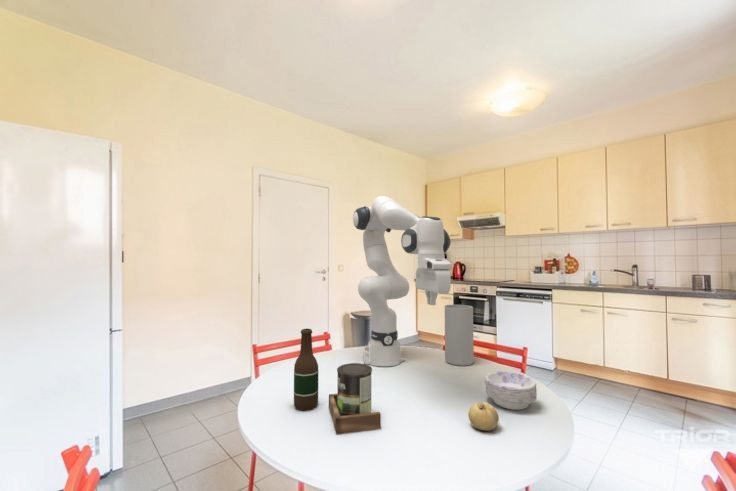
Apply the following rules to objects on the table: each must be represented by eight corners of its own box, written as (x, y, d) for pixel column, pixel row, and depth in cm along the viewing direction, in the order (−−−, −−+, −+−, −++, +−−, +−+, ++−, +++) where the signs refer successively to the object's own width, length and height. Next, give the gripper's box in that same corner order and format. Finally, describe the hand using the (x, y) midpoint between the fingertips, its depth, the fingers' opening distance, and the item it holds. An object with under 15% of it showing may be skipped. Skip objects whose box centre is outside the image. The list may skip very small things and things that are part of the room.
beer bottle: (309, 398, 109) (309, 325, 110) (323, 405, 103) (323, 329, 105) (288, 405, 104) (289, 329, 105) (302, 414, 98) (302, 333, 99)
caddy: (328, 407, 102) (328, 394, 103) (366, 403, 105) (366, 390, 106) (336, 434, 87) (336, 418, 87) (380, 428, 89) (380, 413, 90)
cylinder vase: (441, 358, 154) (440, 304, 155) (466, 357, 155) (466, 304, 156) (450, 366, 141) (450, 308, 143) (478, 365, 143) (477, 308, 144)
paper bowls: (485, 410, 101) (484, 383, 101) (485, 391, 115) (485, 368, 115) (540, 418, 95) (539, 390, 96) (533, 397, 110) (533, 373, 110)
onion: (465, 419, 95) (464, 395, 95) (493, 420, 94) (492, 395, 95) (473, 434, 87) (472, 407, 87) (503, 435, 86) (503, 407, 87)
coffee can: (341, 428, 90) (342, 376, 90) (333, 412, 99) (333, 364, 100) (377, 422, 93) (377, 372, 94) (365, 407, 103) (365, 361, 103)
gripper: (411, 263, 120) (411, 301, 119) (435, 263, 100) (435, 309, 99) (427, 263, 121) (427, 300, 121) (454, 263, 102) (454, 308, 101)
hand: (431, 304), depth 110 cm, fingers closed
